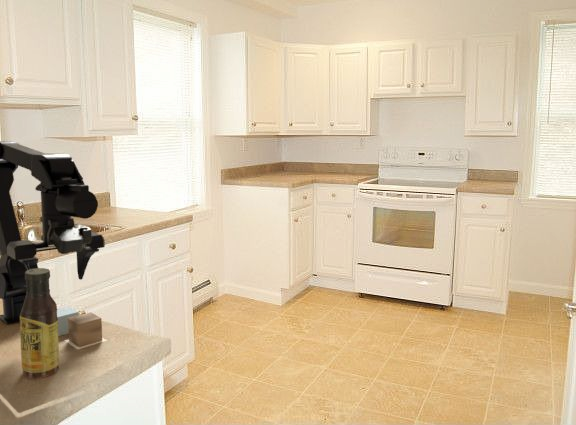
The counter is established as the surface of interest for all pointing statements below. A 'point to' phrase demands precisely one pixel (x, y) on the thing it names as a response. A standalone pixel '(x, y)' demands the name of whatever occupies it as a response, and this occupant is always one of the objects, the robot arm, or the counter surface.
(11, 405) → the counter surface
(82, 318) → the walnut block
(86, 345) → the pad
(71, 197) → the robot arm
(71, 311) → the bluegrey block
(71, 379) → the counter surface
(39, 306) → the sauce bottle
